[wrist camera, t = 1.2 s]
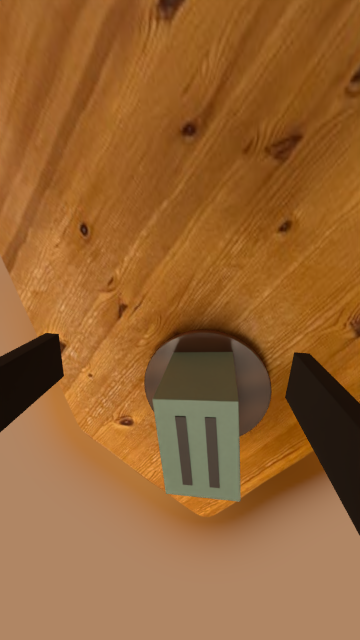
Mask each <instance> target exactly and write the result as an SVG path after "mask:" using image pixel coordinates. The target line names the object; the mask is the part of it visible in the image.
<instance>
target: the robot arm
mask: <svg viewBox="0 0 360 640" xmlns="http://www.w3.org/2000/svg"><path fill="white" fill-rule="evenodd" d="M63 376H64V374H63V366H62V358H61V350H60V342H59V334H51V333H45V334H43V335H41V336H39V337H38V338H36V339H34V340H32V341H30V342H28V343H26V344H24V345H22V346H20V347H18V348H16V349H14V350H12V351H11V352H9V353H7V354H5V355H3V356H1V357H0V432H1V431H2V430H3V429H4V428H6V427H7V426H8V425H9V424H10V423H11V422H12V421H13V420H15V419H16V418H17V417H18V416H19V415H20V414H22V413H23V412H24V411H25V410H26V409H27V408H28V407H29V406H31V404H33V403H34V402H35V401H36V400H37V399H38V398H40V397H41V396H42V395H43V394H44V393H45V392H46V391H48V390H49V389H50V388H51V387H52V386H53V385H54V384H55V383H57V382H58V381H59V380H60V379H61V378H62V377H63ZM285 398H286V400H287V402H288V403H289V405H290V407H291V409H292V411H293V413H294V415H295V416H296V418H297V420H298V422H299V424H300V426H301V428H302V429H303V431H304V433H305V435H306V437H307V439H308V441H309V442H310V444H311V446H312V448H313V450H314V452H315V453H316V455H317V457H318V459H319V461H320V463H321V465H322V466H323V468H324V470H325V472H326V474H327V476H328V478H329V479H330V481H331V483H332V485H333V487H334V489H335V490H336V492H337V494H338V496H339V498H340V500H341V501H342V504H343V505H344V507H345V509H346V511H347V513H348V515H349V516H350V518H351V520H352V522H353V524H354V526H355V528H356V530H357V531H358V533H359V535H360V403H359V402H358V401H357V400H356V399H355V398H354V397H353V396H352V395H351V394H350V393H349V392H348V391H347V390H346V389H345V388H344V387H343V386H342V385H341V384H340V383H339V382H338V381H337V380H336V379H335V378H334V377H332V376H331V375H330V374H329V373H328V372H327V371H326V370H325V369H324V368H323V367H322V366H321V365H320V364H319V363H318V362H317V361H316V360H315V359H314V358H313V357H312V356H311V355H310V354H307V353H294V357H293V362H292V367H291V372H290V377H289V382H288V387H287V391H286V396H285Z"/></svg>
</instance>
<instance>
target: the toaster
mask: <svg viewBox="0 0 360 640" xmlns="http://www.w3.org/2000/svg"><path fill="white" fill-rule="evenodd" d="M145 392H146V396H147V399H148V402H149V404H150V406H151V408H152V410H153V411H154V414H155V421H156V428H157V435H158V441H159V448H160V455H161V462H162V469H163V476H164V483H165V490H166V494H174V495H184V496H193V497H203V498H212V499H221V500H231V501H240V446H239V436H241V435H243V434H245V433H247V432H248V431H250V430H251V429H253V428H254V427H255V426H256V425H257V424H258V423H259V422H260V421H261V420H262V418H263V417H264V415H265V413H266V411H267V409H268V407H269V403H270V399H271V383H270V378H269V375H268V373H267V370H266V367H265V365H264V363H263V362H262V360H261V358H260V357H259V356H258V354H257V353H256V352H255V351H254V350H253V349H252V348H251V347H250V346H249V345H247V344H246V343H245V342H243V341H242V340H240V339H238V338H236V337H234V336H232V335H230V334H227V333H224V332H220V331H214V330H192V331H188V332H184V333H181V334H178V335H176V336H174V337H172V338H170V339H169V340H167V341H166V342H165V343H163V344H162V345H161V346H160V347H159V348H158V350H157V351H156V352H155V353H154V355H153V356H152V358H151V360H150V362H149V364H148V366H147V369H146V373H145Z"/></svg>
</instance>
